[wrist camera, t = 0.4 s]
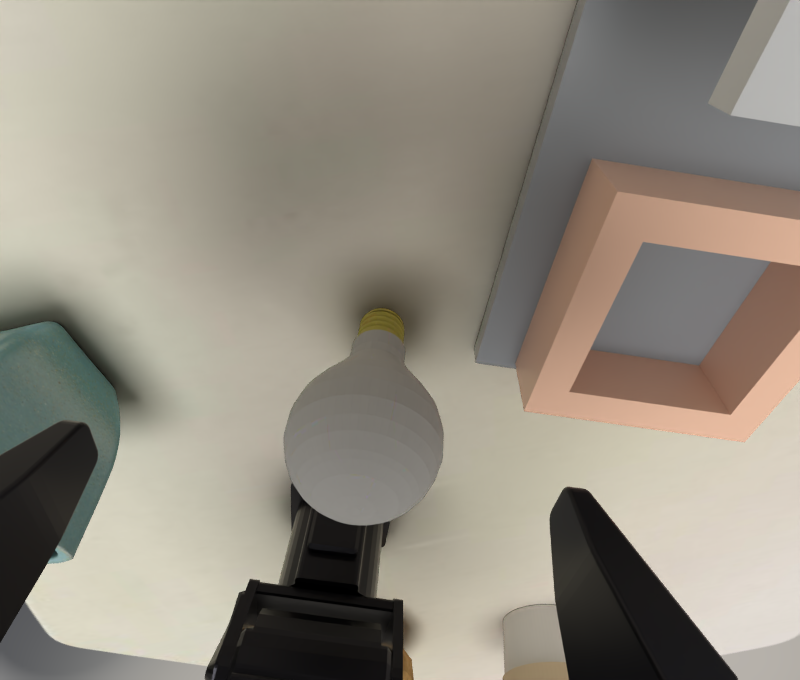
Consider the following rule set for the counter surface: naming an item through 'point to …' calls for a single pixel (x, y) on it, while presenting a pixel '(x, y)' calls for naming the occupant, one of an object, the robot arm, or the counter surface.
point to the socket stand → (660, 222)
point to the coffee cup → (533, 644)
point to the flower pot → (57, 407)
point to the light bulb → (365, 431)
